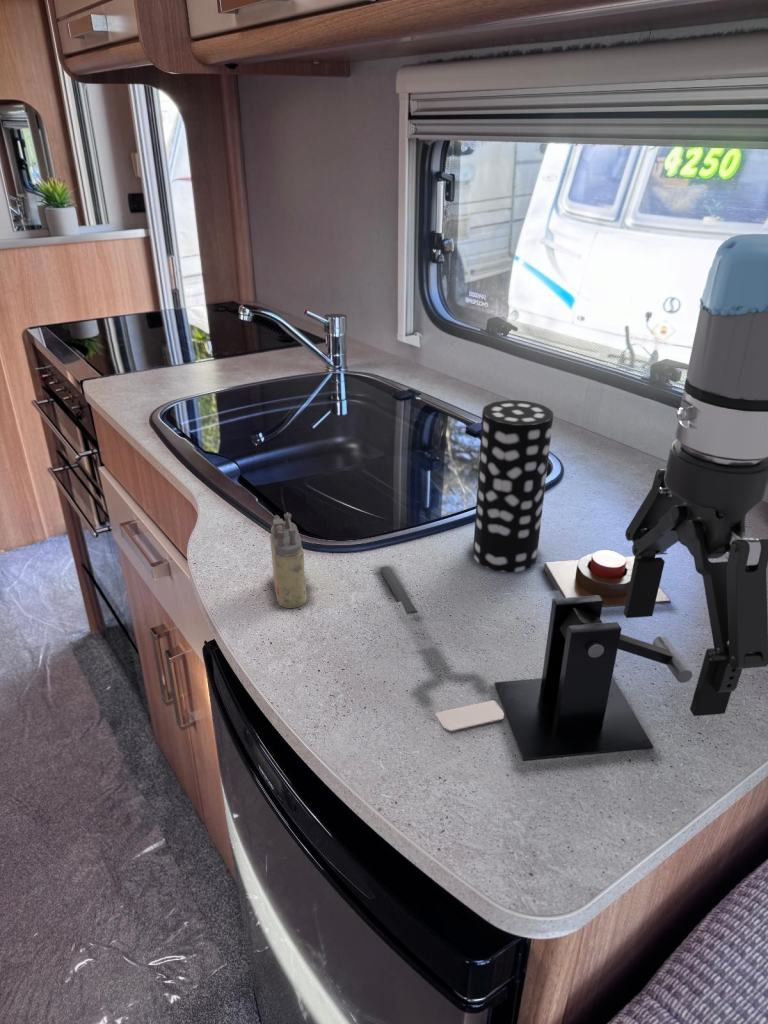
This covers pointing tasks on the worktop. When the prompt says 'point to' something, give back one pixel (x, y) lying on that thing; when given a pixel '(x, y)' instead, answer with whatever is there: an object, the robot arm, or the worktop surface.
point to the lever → (637, 645)
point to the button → (608, 564)
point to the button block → (592, 581)
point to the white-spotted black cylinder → (511, 484)
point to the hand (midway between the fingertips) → (669, 659)
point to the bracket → (573, 693)
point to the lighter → (288, 563)
